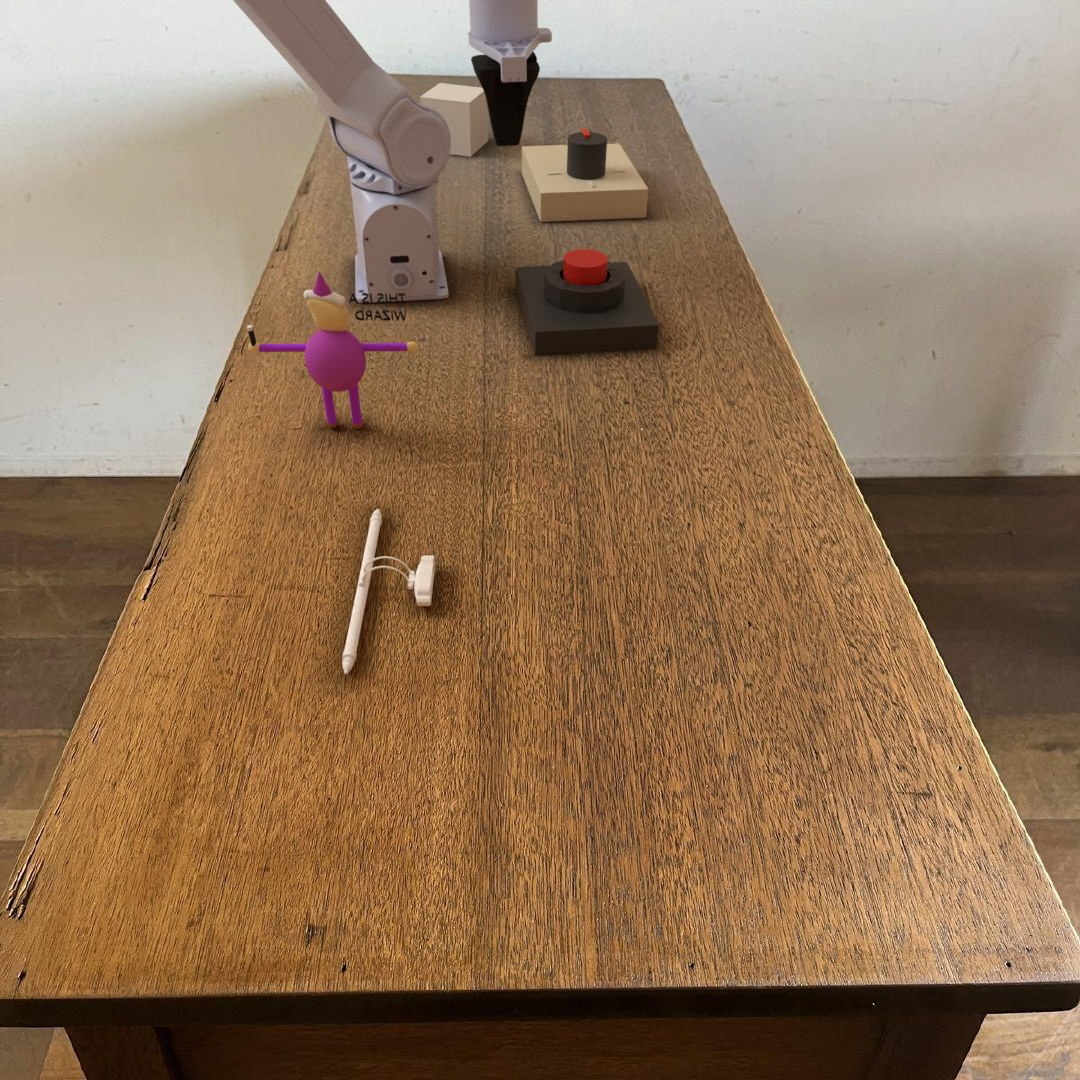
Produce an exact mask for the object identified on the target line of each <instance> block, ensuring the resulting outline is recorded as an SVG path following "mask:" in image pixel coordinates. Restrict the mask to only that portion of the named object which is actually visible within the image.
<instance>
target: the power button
mask: <svg viewBox="0 0 1080 1080" xmlns="http://www.w3.org/2000/svg"><path fill="white" fill-rule="evenodd" d="M563 260H564V266H563V278H564V280H565V281H567V282H569V283H572V284H577V285H582V286H587V285H598V284H601V283H604V282H605V281H606V279H607V265H608V262H609V258H608V256H607V255H606V254H605V253H603V252H601V251H599V250H596V249H589V248H580V249H579V248H578V249H574V250H571V251H568V252H566V253H565V254H564V256H563Z"/></svg>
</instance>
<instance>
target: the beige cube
mask: <svg viewBox="0 0 1080 1080" xmlns="http://www.w3.org/2000/svg"><path fill="white" fill-rule="evenodd" d="M419 103H420V104H422V105H425V106H428V107H430V108H433V109H434V110H436V111H437V112H438V113H440V114H441V115H442V117H443V118H444V119H445V121H446V123H447V125H448V128H449V131H450V136H451V149H450V154H449V155H454V156H462V157H468V158H469V157H470V158H471V157H472V156H474V155H475V154H476V153H477V152H478V151H479V150H480V149H481V148H483V146H484V145H486V144H487V143H488V142H489V111H488V106H487V101H486V97H485V93H484V90H483V88H482V87H481V86H480V87H479V86H470V85H461V84H452V83H443V82H439V83H438V84H436V85H435V86H433V87H432V88H430V89H429V90H427V91H426V92H425V93H423V94H421V96H419Z"/></svg>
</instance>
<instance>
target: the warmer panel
mask: <svg viewBox="0 0 1080 1080" xmlns="http://www.w3.org/2000/svg"><path fill="white" fill-rule="evenodd" d="M567 150H568V144H555V145H524V146H523V145H522V146H521V175H522V178H523V180H524V183H525V186H526V189H527V191H528V193H529V196H530V199H531V202H532V204H533V207H534V209H535V213H536V214H537V217H538V219H539V222H540V223H549V222H573V221H598V220H599V221H600V220H621V219H623V220H624V219H625V220H626V219H646V218H647V210H648V200H649V199H648V198H649V187H648V186H647V185H646V183H645V181H644V179H643V178H642V177H641V175H640V173H639V172H638V170H637V169H636V167H635V166H634V164H633V162H632V161H631V159H630V158H629V156H628V155H627V153H626V152H625V150H624V148H623V147H622V145H621V144H620V143H618V142H617V143H616V142H615V143H607V152H606V169H605V175H604V176H602V177H600V178H597V179H578V178H574V177H571V176H570V175H568V174H567Z"/></svg>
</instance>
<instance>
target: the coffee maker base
mask: <svg viewBox="0 0 1080 1080" xmlns="http://www.w3.org/2000/svg"><path fill="white" fill-rule="evenodd" d="M563 266H564V259H562V260H559V261H556V262H552V263H551V264H550V265H529V266H527V265H526V266H515V270H514V271H515V275H514V277H515V284H514V285H515V286H514V287H515V293H516V296H517V299H518V300H517V301H518V303H519V306H520V310H521V314H522V317H523V320H524V324H525V328H526V330H527V333H528V338H529V340H530V344H531V347H532V351H533V353H534V356H546V355H547V356H548V355H549V356H550V355H565V354H581V353H598V352H600V353H601V352H615V351H633V350H650V349H653V350H654V349H657V348H658V340H659V331H660V324H659V321H658V320H657V318H656V316H655V314H654V312H653V310H652V308H651V307H650V305H649V302H648V301H647V298H646V296H645V295H644V293H643V291H642V288H641V287H640V285H639V282H638V281H637V279H636V278H635V275H634V273H633V272H632V269H631V268H630V266H629V264H628V262H627V261H617V262H615V261H614V262H610V261H608V265H607V279H606V281H605V282H604V283H601V284H598V285H587V286H582V285H577V284H572V283H569V282H567V281H565V280H564V278H563Z"/></svg>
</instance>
